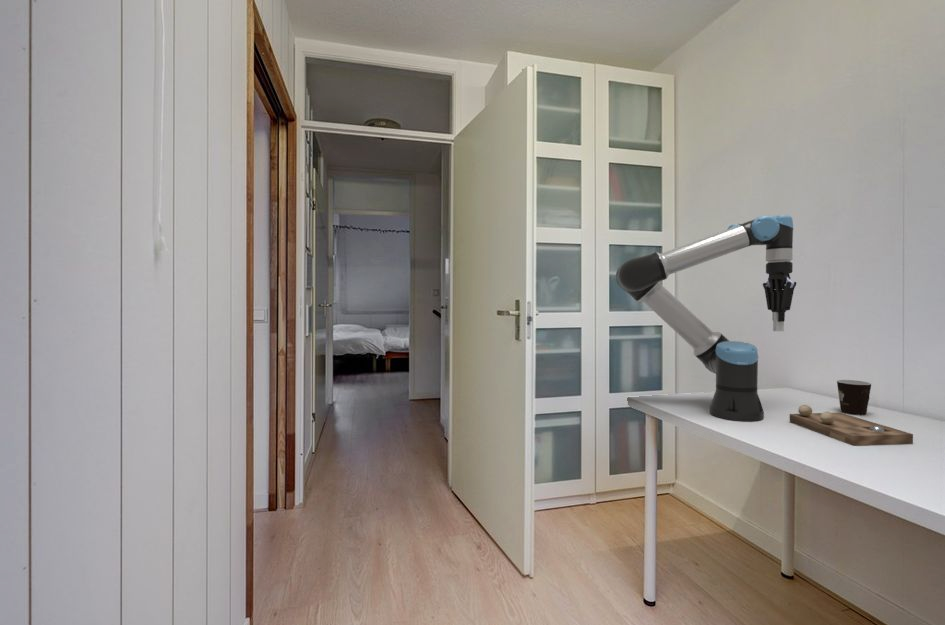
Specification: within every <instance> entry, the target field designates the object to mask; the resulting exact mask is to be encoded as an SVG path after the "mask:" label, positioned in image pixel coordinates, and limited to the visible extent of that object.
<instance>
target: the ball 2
mask: <svg viewBox="0 0 945 625" xmlns="http://www.w3.org/2000/svg"><path fill="white" fill-rule="evenodd" d="M821 413H822V414H821V415H820V419H821V421H822V422H824V423H826V424H832V423H833V422H834V421H835V416H834V414H832V413H833V412H830V411H823V412H821Z"/></svg>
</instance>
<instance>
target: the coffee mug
mask: <svg viewBox="0 0 945 625" xmlns="http://www.w3.org/2000/svg"><path fill="white" fill-rule="evenodd" d="M836 384H837V390H838V398H839V400H838V401H839V406H840V407H839V408H840V409H839V410H840V413H843V414H846V413H847V415H851V416H866V415H867V411H868V407H869V400H870V396H871V395H870V394H871V388H872V383H871V382H868V381H862V380H854V379H853V380H852V379H837V380H836Z"/></svg>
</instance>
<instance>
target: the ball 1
mask: <svg viewBox="0 0 945 625" xmlns="http://www.w3.org/2000/svg"><path fill="white" fill-rule="evenodd" d="M797 412H798V414H801V415H802V416H810V415H811V414H812V413H813V409H812V407H811V406H810V405H808V404H807V405H806V404H801V405H800V406H799V407H798V408H797Z"/></svg>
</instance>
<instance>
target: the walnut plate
mask: <svg viewBox="0 0 945 625" xmlns="http://www.w3.org/2000/svg"><path fill="white" fill-rule="evenodd" d="M822 413H823V412H812V414H811V415H810V416H802V415H801V414H800V413H789V423H792V424H793V425H796V424H797V425H796V426H800V427H802V428H805V429H807V428H808V429H807V430H810V431H813V432H816V433H819V434H820V435H823V436H826V437H829V438H831V439H835V440H837V441H839V442H840V441H841V442H842V443H845V444H849V445H851V446H883V445H884V446H885V445H889V446H890V445H909V444H911V445H913V444H914V434H913V433H911V432H906V431H904V430H900V429H897V428H894V427H889V426H887V425H883V424H880V423H876V422H873V421H870V420H867V419H863V418H860V417H856V416H854V415H851V414H846V413H843V412H841V411H840V412H831V413H832V414H834V416H835V421H834V422H833V423H832V424H826V423H824V422H822V421H821V419H820V415H821V414H822ZM871 426H880V427H882V428H883V429H884V430H885V432H875V431H872V430H869V428H870V427H871Z"/></svg>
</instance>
